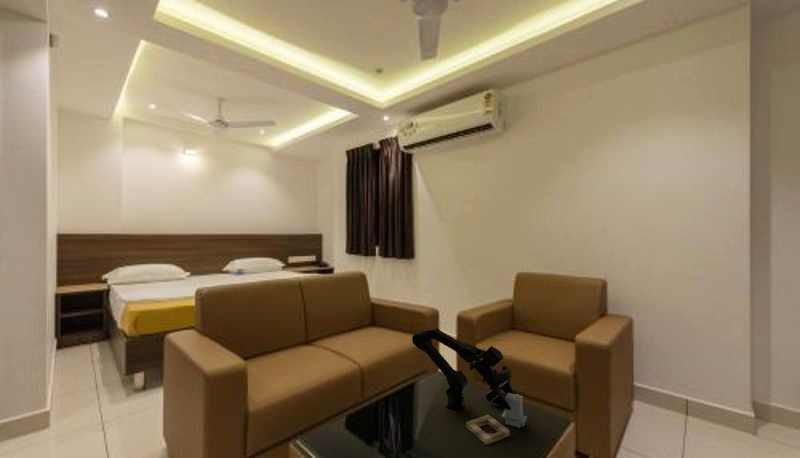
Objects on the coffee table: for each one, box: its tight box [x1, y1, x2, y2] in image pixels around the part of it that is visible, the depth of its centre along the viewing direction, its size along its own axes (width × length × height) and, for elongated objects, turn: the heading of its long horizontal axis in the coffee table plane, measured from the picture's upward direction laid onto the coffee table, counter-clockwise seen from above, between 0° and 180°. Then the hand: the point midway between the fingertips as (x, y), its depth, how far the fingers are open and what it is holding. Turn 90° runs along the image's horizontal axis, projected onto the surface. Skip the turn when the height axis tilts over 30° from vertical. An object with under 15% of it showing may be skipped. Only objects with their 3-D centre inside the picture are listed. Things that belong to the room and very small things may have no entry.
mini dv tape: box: [489, 391, 507, 407], centre depth 159 cm, size 8×2×6 cm, turn 84°
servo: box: [500, 393, 528, 429], centre depth 145 cm, size 9×5×12 cm, turn 58°
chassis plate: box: [465, 414, 511, 445], centre depth 140 cm, size 13×12×2 cm
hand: (513, 404), depth 145 cm, fingers open, 9 cm apart
